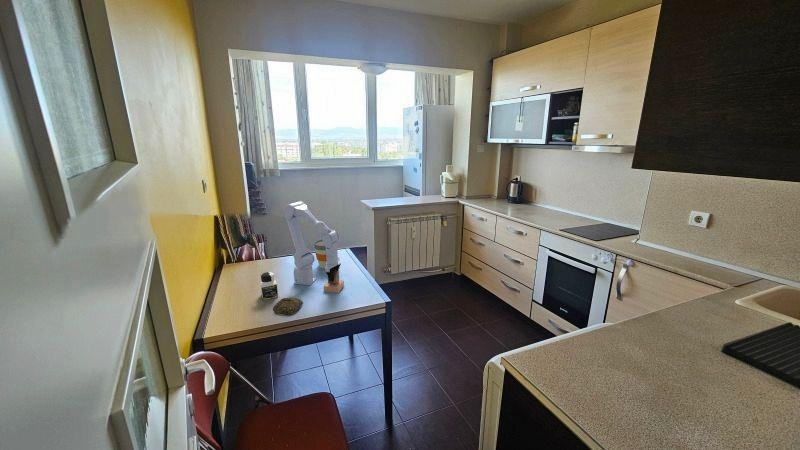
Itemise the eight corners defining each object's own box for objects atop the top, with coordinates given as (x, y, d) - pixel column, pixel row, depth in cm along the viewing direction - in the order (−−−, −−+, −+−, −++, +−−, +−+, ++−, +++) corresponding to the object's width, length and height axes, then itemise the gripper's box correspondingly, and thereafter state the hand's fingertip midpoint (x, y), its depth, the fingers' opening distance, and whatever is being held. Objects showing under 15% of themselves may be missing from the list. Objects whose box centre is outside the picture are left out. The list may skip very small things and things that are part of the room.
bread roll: (306, 303, 159) (305, 293, 158) (293, 317, 148) (292, 307, 146) (281, 300, 162) (280, 291, 160) (267, 314, 150) (266, 304, 149)
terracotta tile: (323, 291, 170) (323, 286, 170) (329, 284, 178) (329, 279, 177) (338, 292, 169) (338, 287, 168) (344, 285, 176) (343, 280, 176)
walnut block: (328, 283, 171) (327, 273, 169) (331, 279, 175) (330, 270, 173) (336, 284, 170) (335, 274, 168) (339, 280, 174) (338, 270, 173)
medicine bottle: (263, 300, 162) (260, 277, 158) (261, 294, 168) (258, 272, 165) (278, 296, 165) (275, 274, 162) (276, 291, 171) (273, 269, 168)
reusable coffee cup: (316, 262, 207) (314, 240, 203) (336, 260, 210) (334, 238, 206) (316, 270, 195) (314, 246, 191) (337, 268, 198) (336, 245, 194)
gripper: (333, 260, 161) (335, 285, 164) (344, 250, 174) (345, 273, 178) (320, 259, 162) (322, 284, 166) (331, 249, 176) (333, 272, 179)
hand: (333, 279), depth 172 cm, fingers closed on walnut block, 4 cm apart
